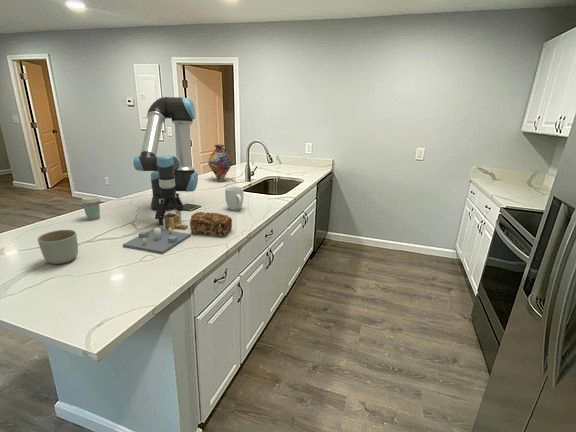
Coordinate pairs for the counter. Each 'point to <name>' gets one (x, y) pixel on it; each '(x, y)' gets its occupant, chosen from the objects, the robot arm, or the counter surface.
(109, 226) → the counter surface
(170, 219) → the wooden frame with handle
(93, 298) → the counter surface
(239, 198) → the mug
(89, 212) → the coffee cup
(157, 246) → the post base
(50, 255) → the planter
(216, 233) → the bread
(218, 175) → the vase
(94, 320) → the counter surface
